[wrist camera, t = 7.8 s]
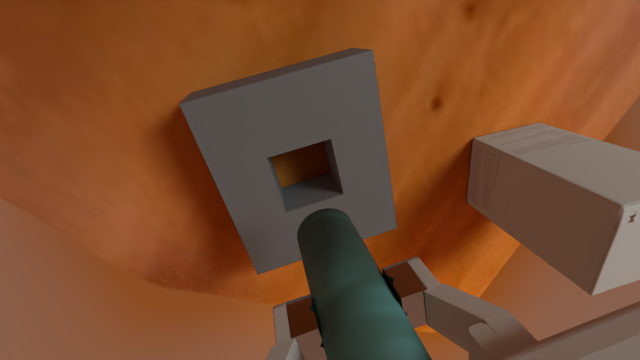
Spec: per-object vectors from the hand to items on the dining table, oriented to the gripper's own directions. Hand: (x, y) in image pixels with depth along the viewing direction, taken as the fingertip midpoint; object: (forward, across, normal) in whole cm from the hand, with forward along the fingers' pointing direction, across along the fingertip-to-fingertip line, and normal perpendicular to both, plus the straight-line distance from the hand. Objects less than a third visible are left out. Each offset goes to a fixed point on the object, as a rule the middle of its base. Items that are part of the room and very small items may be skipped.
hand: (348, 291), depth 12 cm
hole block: (+14, 0, 0) cm, 14 cm away
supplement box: (+14, -19, +7) cm, 25 cm away
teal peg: (+4, 0, 0) cm, 4 cm away
